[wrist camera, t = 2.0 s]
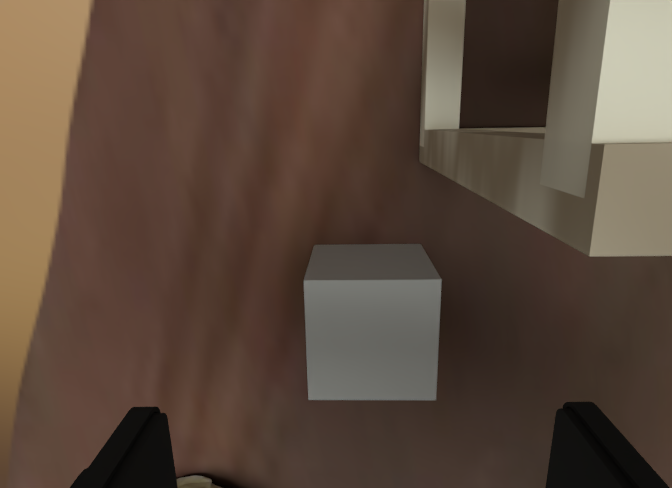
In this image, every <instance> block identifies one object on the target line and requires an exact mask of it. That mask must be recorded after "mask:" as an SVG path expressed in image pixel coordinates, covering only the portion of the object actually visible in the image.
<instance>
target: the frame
mask: <svg viewBox="0 0 672 488" xmlns="http://www.w3.org/2000/svg"><path fill="white" fill-rule="evenodd" d="M465 6H466V0H424V18H423V51H422V83H421V116H420V148H419V162H421V163H422V164H424V165H426V166H428V167H430V168H431V169H433V170H435V171H437V172H438V173H440V174H442V175H444V176H446V177H447V178H449V179H451V180H453V181H455V182H456V183H458V184H460V185H462V186H464V187H465V188H467V189H469V190H471V191H473V192H474V193H476V194H478V195H480V196H482V197H483V198H485V199H487V200H489V201H491V202H492V203H494V204H496V205H498V206H499V207H501V208H503V209H505V210H507V211H508V212H510V213H512V214H514V215H516V216H517V217H519V218H521V219H523V220H525V221H526V222H528V223H530V224H532V225H534V226H535V227H537V228H539V229H541V230H543V231H544V232H546V233H548V234H550V235H552V236H553V237H555V238H557V239H559V240H560V241H562V242H564V243H566V244H568V245H569V246H571V247H573V248H575V249H577V250H578V251H580V252H582V253H584V254H586V255H587V256H672V0H559V3H558V13H557V23H556V32H555V42H554V52H553V62H552V71H551V81H550V91H549V100H548V110H547V120H546V127H511V128H459V119H460V100H461V81H462V63H463V44H464V25H465Z"/></svg>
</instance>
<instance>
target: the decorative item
mask: <svg viewBox="0 0 672 488" xmlns="http://www.w3.org/2000/svg"><path fill="white" fill-rule="evenodd" d="M176 480H177V487H178V488H222V487H219V486H216V485H214V484H212V480H211V479H209V478H207V477H204V476H197V475H194V476H188V477H182V478H179V479H176Z"/></svg>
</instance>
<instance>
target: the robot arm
mask: <svg viewBox="0 0 672 488" xmlns="http://www.w3.org/2000/svg"><path fill="white" fill-rule="evenodd" d="M70 488H178V487H177V480H176V473H175V467H174V460H173V453H172V446H171V439H170V432H169V426H168V419H167V415H166V414H165V413H160V410H159V408H158V407H133V408H131V409H130V410H129V412H128V413H127V414H126V416H125V417H124V419H123V420H122V421H121V423H120V424H119V426H118V427H117V428H116V430H115V431H114V433H113V434H112V435H111V437H110V438H109V440H108V441H107V442H106V444H105V445H104V446H103V448H102V449H101V451H100V452H99V453H98V455H97V456H96V458H95V459H94V460H93V462H92V463H91V465H90V466H89V467H88V468H87V469H85V470H83V471H82V473H81V474H80V475H79V476H78V477H77V479H76V480H75V481H74V483H73V484H72V486H71V487H70ZM546 488H669V487H668V485H667V484H666V483H665V482H664V481H663V480H662V479H661V478H660V476H659V475H658V474H657V473H656V472H655V471H654V470H653V469H652V467H651V466H650V465H649V464H648V463H647V462H646V461H645V460H644V458H643V457H642V456H641V455H640V454H639V453H638V452H637V451H636V449H635V448H634V447H633V446H632V445H631V444H630V443H629V442H628V440H627V439H626V438H625V437H624V436H623V435H622V434H621V433H620V431H619V430H618V429H617V428H616V427H615V426H614V425H613V424H612V422H611V421H610V420H609V419H608V418H607V417H606V416H605V415H604V413H603V412H602V411H601V410H600V409H599V408H598V407H597V406H596V405H595V404H594V403H592V402H566V403H565V404H564V405H563V409H558V410H557V412H556V417H555V425H554V432H553V439H552V446H551V453H550V460H549V467H548V475H547V482H546Z"/></svg>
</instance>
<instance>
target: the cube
mask: <svg viewBox="0 0 672 488" xmlns="http://www.w3.org/2000/svg"><path fill="white" fill-rule="evenodd" d="M441 283H442V279H441V278H440V276H439V274H438V272H437V271H436V269H435V267H434V266H433V264H432V262H431V260H430V259H429V257H428V255H427V254H426V252H425V250H424V249H423V247H422V245H421V244H343V245H314V247H313V250H312V254H311V257H310V261H309V264H308V267H307V271H306V274H305V277H304V303H305V328H306V353H307V378H308V400H436V390H437V368H438V347H439V326H440V305H441Z"/></svg>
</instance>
